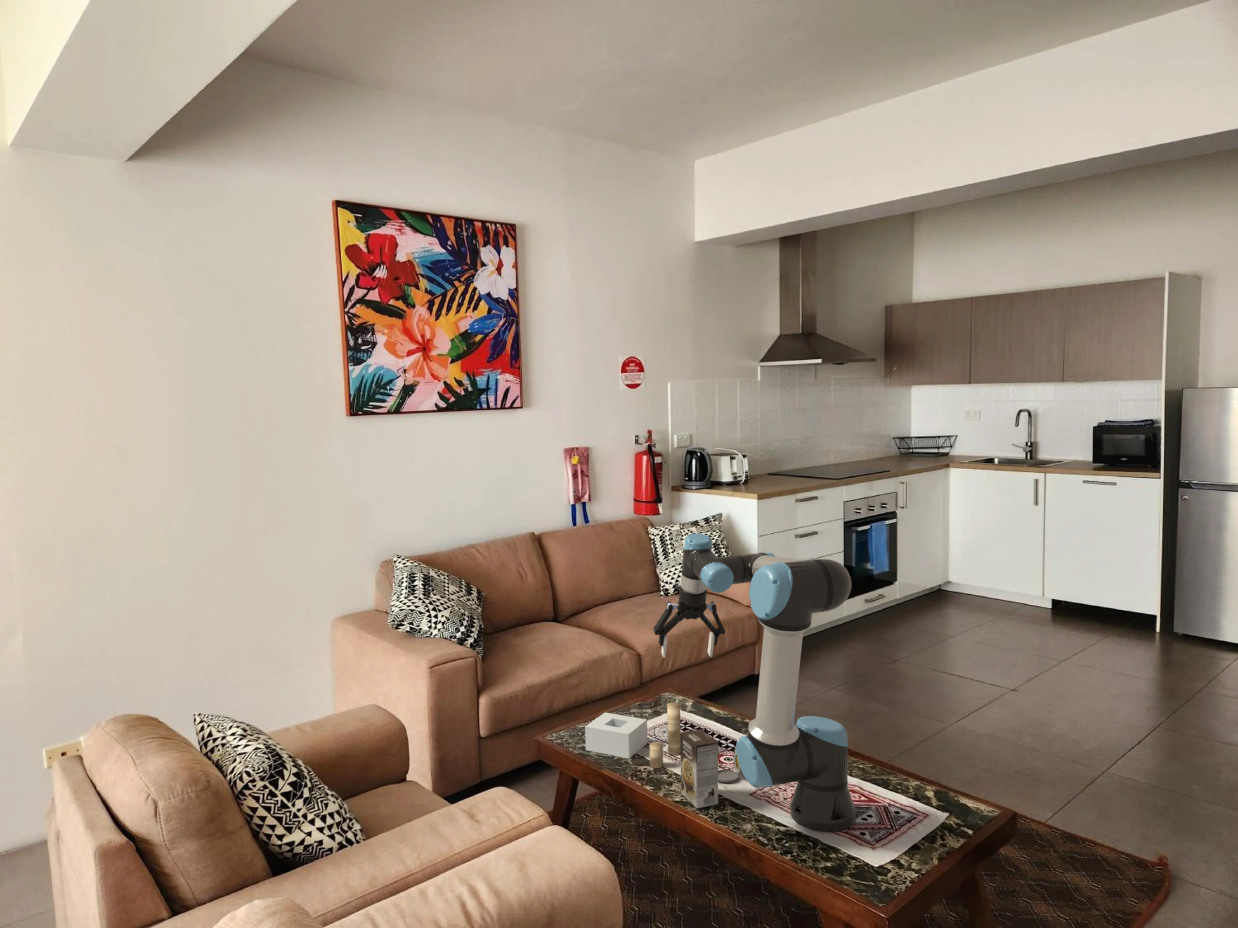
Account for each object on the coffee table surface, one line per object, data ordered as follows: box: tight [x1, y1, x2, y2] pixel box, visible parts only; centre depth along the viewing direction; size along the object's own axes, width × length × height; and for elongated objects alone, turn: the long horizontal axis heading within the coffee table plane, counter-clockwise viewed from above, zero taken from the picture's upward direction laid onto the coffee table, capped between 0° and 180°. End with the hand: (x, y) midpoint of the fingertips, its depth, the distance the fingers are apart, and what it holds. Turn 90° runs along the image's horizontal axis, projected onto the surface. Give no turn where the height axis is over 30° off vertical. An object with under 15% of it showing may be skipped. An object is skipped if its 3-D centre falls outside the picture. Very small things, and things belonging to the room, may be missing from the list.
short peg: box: [649, 741, 664, 769], centre depth 232 cm, size 4×4×6 cm
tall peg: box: [666, 701, 682, 756], centre depth 240 cm, size 4×4×14 cm
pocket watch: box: [718, 748, 743, 784], centre depth 223 cm, size 8×8×10 cm
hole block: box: [584, 712, 648, 759], centre depth 245 cm, size 12×14×7 cm
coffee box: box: [680, 728, 719, 809], centre depth 212 cm, size 9×6×16 cm
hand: (686, 654), depth 241 cm, fingers open, 13 cm apart
